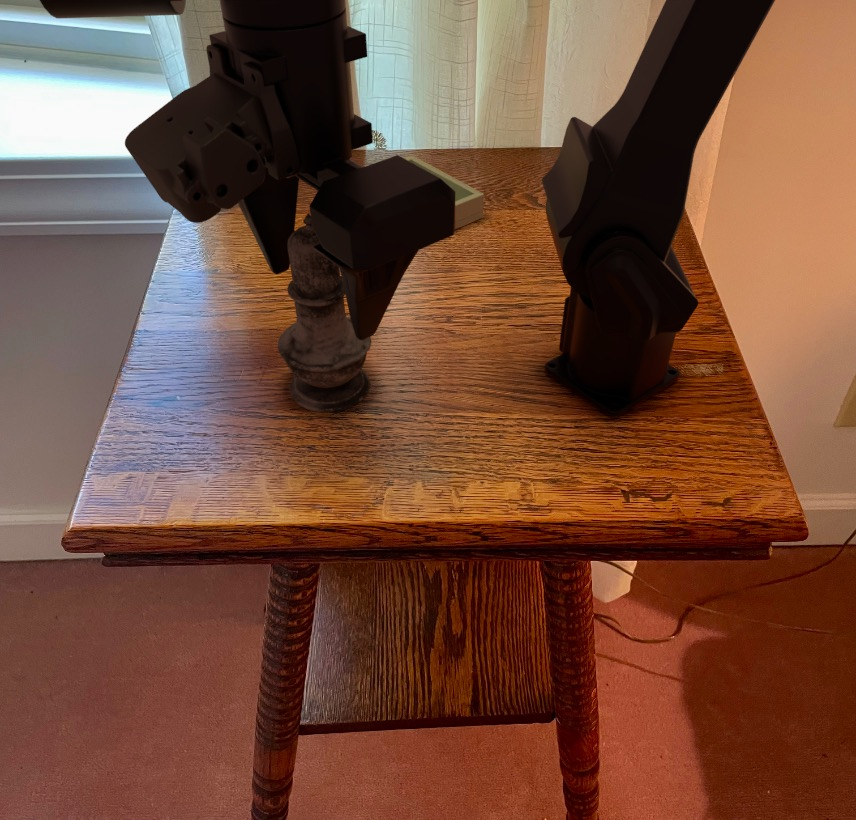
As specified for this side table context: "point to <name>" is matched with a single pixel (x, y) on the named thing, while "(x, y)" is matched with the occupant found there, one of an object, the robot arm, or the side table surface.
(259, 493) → the side table surface
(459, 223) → the tray
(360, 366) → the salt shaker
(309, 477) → the side table surface
